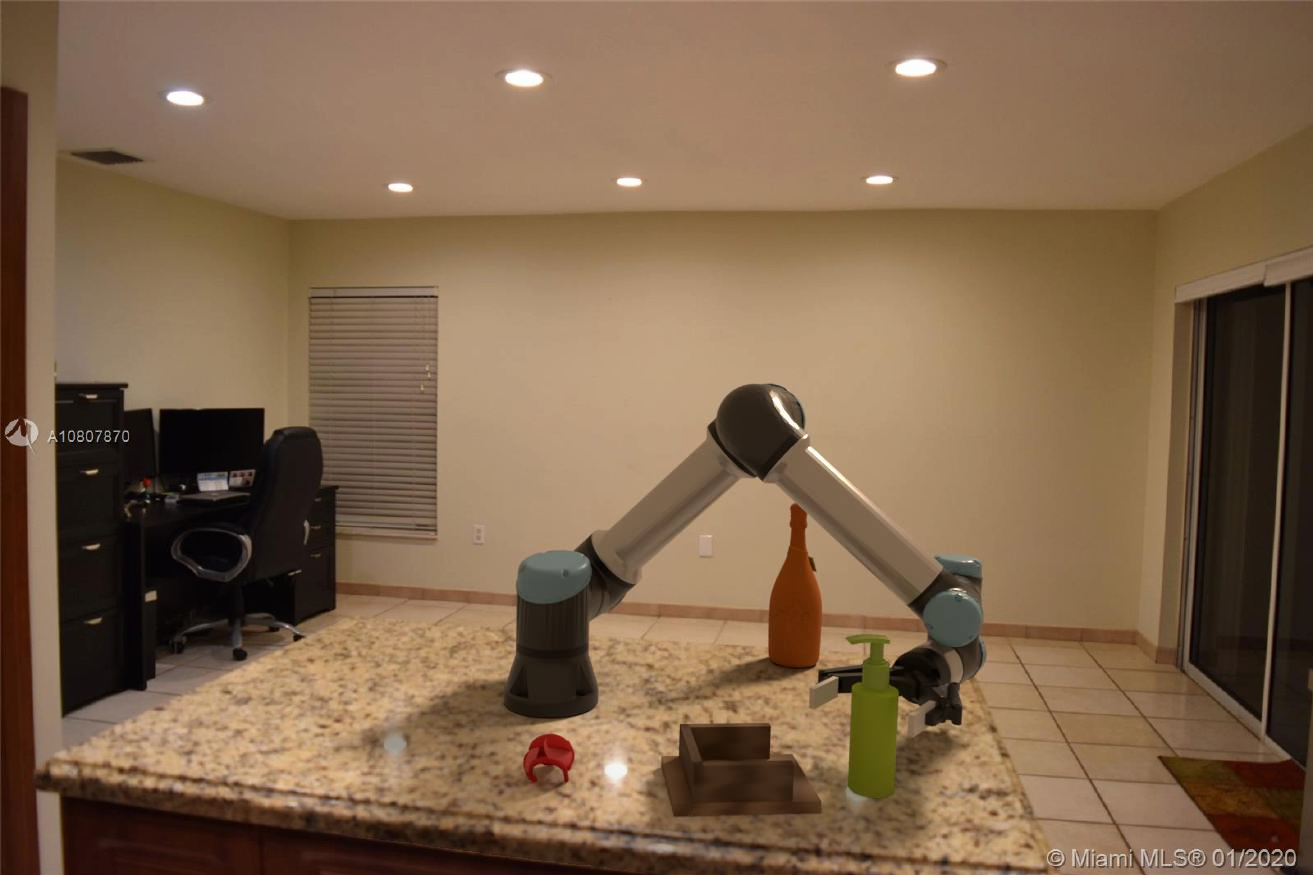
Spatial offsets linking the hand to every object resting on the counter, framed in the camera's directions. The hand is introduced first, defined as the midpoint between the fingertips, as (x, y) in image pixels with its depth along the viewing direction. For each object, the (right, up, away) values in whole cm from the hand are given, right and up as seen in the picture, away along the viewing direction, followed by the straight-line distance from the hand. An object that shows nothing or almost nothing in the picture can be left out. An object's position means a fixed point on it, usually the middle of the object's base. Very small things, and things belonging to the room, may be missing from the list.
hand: (859, 711), depth 114 cm
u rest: (-15, -10, +2) cm, 19 cm away
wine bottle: (0, -8, +56) cm, 57 cm away
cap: (-40, -10, +4) cm, 41 cm away
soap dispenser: (+2, -11, +3) cm, 12 cm away
